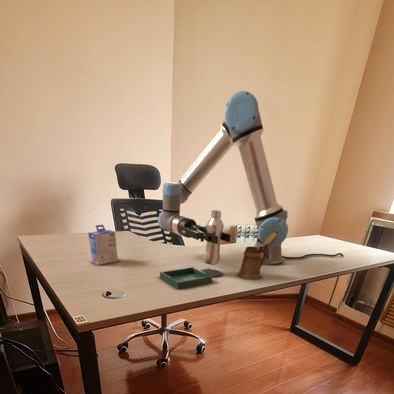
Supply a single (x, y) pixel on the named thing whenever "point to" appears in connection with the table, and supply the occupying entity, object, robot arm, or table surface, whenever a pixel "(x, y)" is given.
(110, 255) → the ink cartridge box
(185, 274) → the tray
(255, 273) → the wooden mug
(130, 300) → the table surface
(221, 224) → the silver metal bottle
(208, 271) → the coaster
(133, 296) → the table surface
